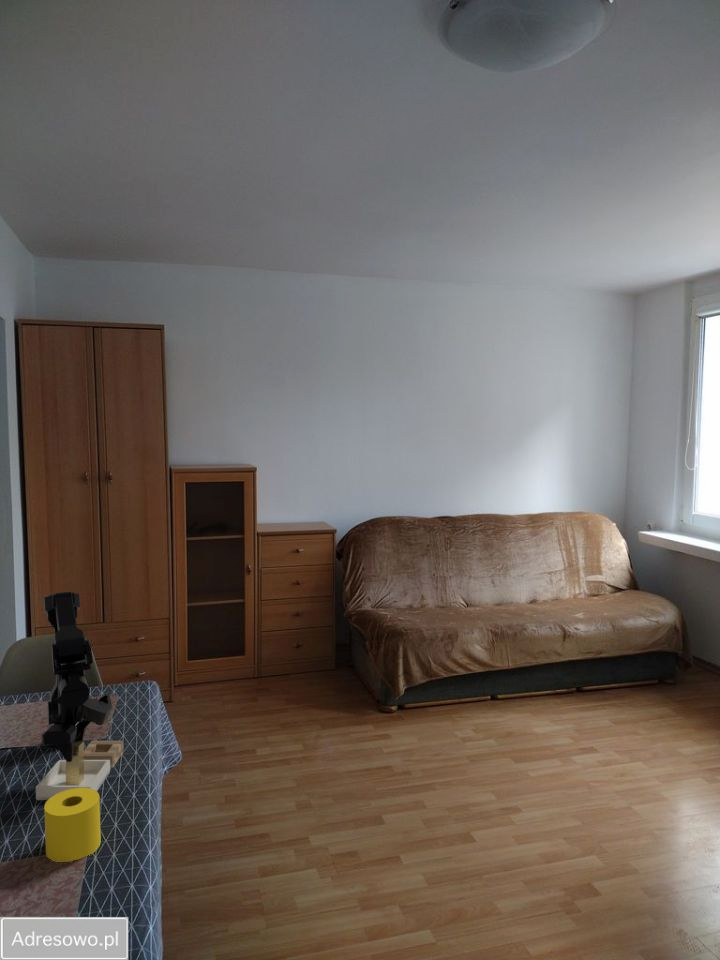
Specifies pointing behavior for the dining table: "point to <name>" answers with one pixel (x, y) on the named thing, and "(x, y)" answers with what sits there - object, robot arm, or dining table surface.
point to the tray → (57, 783)
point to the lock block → (104, 751)
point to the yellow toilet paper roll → (72, 824)
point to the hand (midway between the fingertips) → (73, 756)
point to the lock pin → (76, 765)
